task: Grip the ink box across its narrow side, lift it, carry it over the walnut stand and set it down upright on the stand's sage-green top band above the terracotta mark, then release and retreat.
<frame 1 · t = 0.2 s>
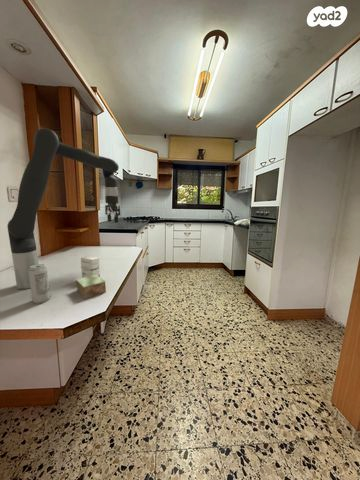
hand: (112, 222, 117), 29 cm above the table, fingers open, 8 cm apart
stand: (91, 291, 86), on the table
energy drink can: (41, 300, 78), on the table
ink box: (91, 279, 101), on the table
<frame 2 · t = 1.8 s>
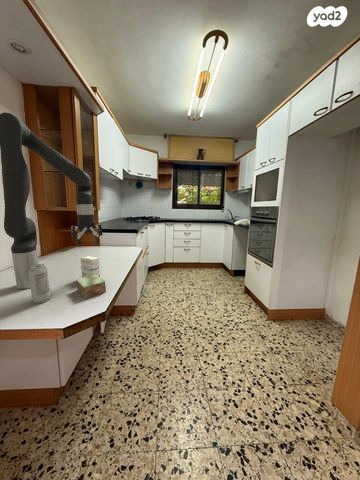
hand: (88, 245, 97), 19 cm above the table, fingers open, 8 cm apart
nothing on the table moved.
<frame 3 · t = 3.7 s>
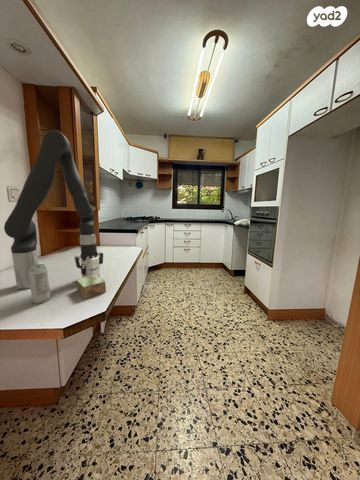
hand: (90, 273, 100), 3 cm above the table, fingers closed on ink box, 6 cm apart
ink box: (91, 279, 101), on the table, touching gripper
everything else where it was.
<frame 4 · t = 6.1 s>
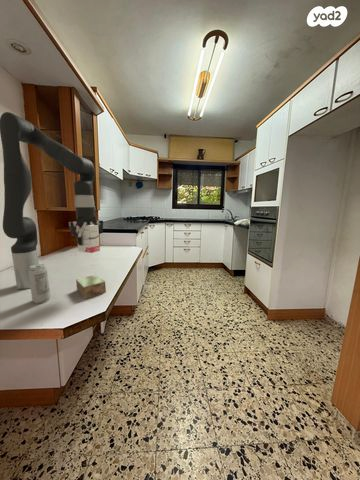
hand: (88, 244, 84), 22 cm above the table, fingers closed on ink box, 6 cm apart
ink box: (89, 251, 85), point 19 cm above the table, touching gripper
everything else where it was.
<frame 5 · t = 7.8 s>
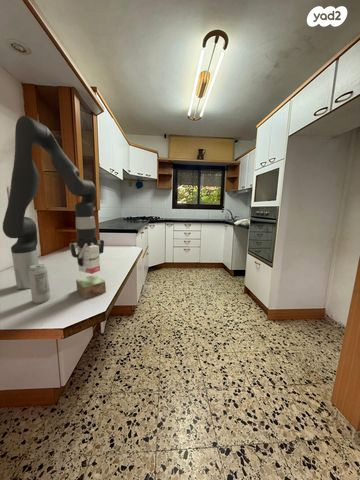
hand: (89, 264, 84), 13 cm above the table, fingers closed on ink box, 6 cm apart
ink box: (89, 271, 85), point 10 cm above the table, touching gripper
everything else where it was.
when the fingers open (10 cm above the table, at t = 9.0 s): ink box drops 1 cm, resting on stand.
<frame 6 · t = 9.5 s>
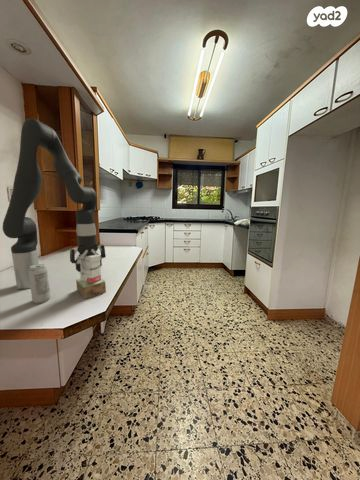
hand: (89, 269, 85), 11 cm above the table, fingers open, 8 cm apart
ink box: (91, 280, 86), point 5 cm above the table, touching stand
everything else where it was.
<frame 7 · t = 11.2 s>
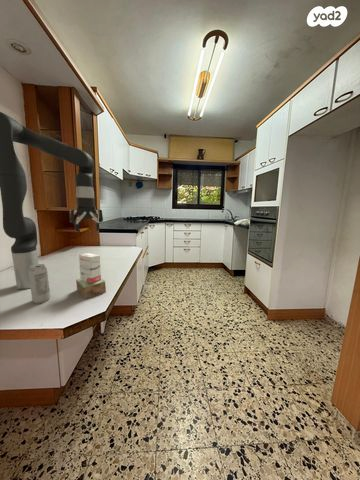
hand: (87, 231, 91), 27 cm above the table, fingers open, 8 cm apart
nothing on the table moved.
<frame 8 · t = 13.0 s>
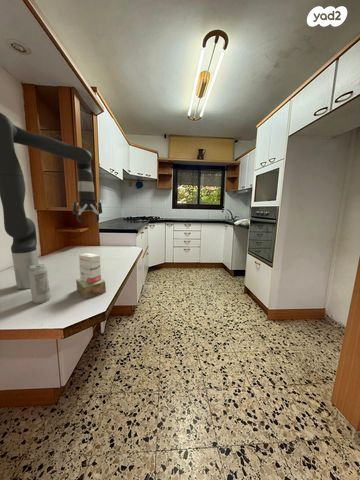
hand: (88, 221, 101), 30 cm above the table, fingers open, 8 cm apart
nothing on the table moved.
at the end: ink box inside the target area on the stand (0.3 cm from its centre), point 5.2 cm above the stand's base; ink box tilted 0°; ink box touching stand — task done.
